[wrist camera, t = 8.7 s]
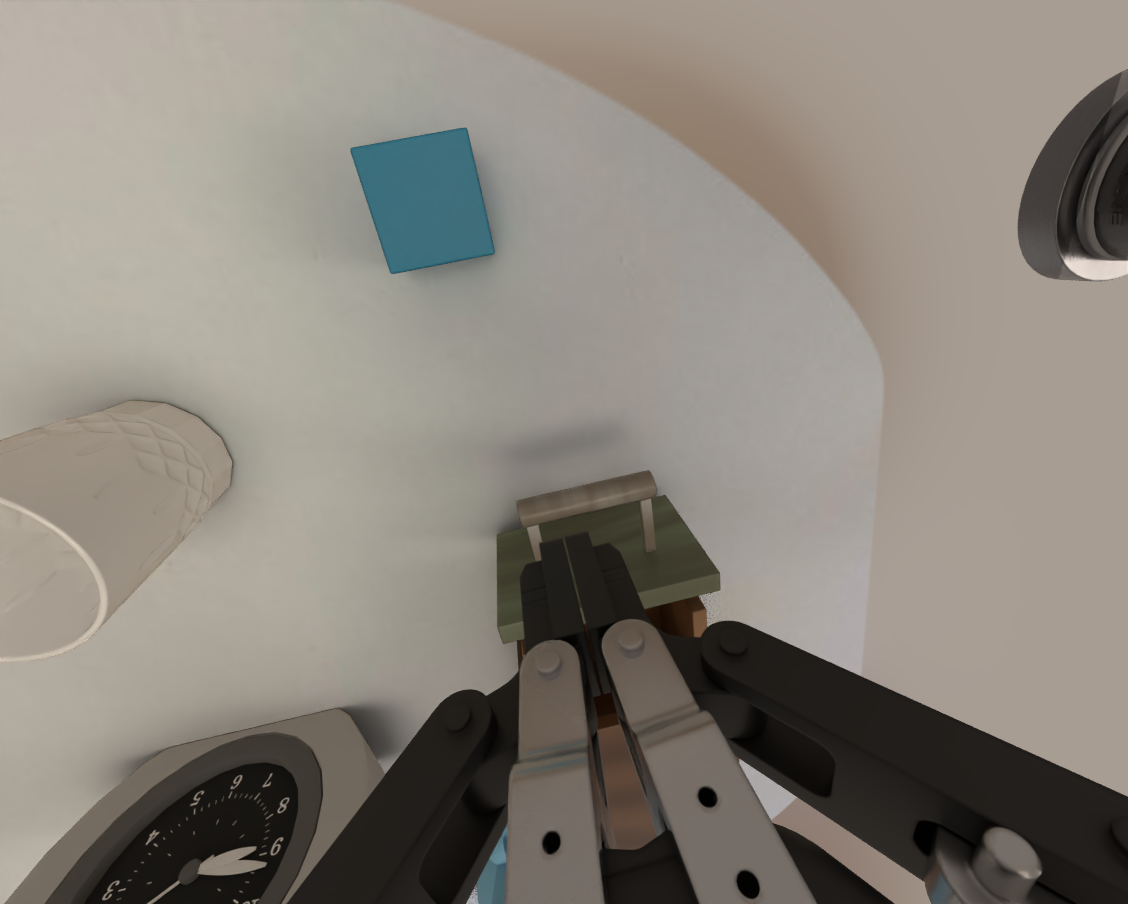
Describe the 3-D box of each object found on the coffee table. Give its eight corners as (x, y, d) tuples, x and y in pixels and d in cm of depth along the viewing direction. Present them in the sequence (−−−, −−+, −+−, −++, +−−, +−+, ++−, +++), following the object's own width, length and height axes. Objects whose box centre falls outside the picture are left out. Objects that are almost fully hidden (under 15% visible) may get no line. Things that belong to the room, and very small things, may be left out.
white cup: (61, 481, 24) (-202, 622, 15) (98, 359, 22) (-186, 437, 13) (219, 537, 26) (78, 685, 17) (266, 433, 24) (132, 542, 15)
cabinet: (515, 618, 33) (523, 750, 24) (676, 578, 33) (740, 693, 25) (551, 734, 39) (567, 871, 30) (686, 698, 40) (739, 823, 31)
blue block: (472, 150, 20) (466, 126, 16) (495, 253, 22) (495, 253, 18) (377, 167, 20) (348, 147, 16) (409, 269, 22) (390, 274, 18)
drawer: (476, 468, 26) (470, 548, 19) (659, 427, 27) (718, 490, 20) (538, 671, 34) (549, 780, 27) (677, 636, 35) (723, 733, 28)
